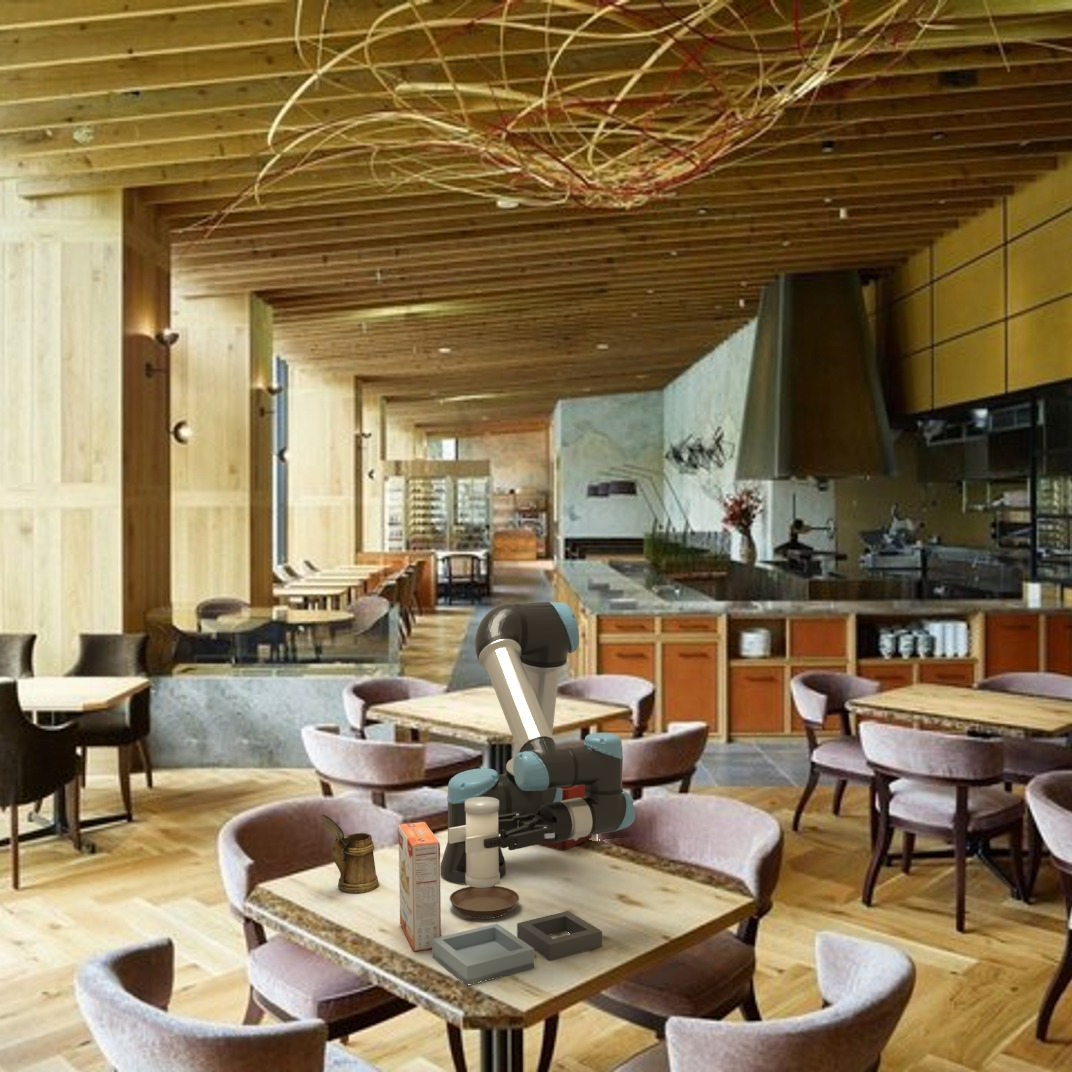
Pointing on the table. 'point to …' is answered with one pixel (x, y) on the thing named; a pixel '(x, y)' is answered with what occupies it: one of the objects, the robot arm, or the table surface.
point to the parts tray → (482, 953)
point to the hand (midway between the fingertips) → (458, 840)
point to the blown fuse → (478, 822)
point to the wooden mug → (353, 859)
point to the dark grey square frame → (576, 942)
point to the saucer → (484, 901)
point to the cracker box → (419, 884)
